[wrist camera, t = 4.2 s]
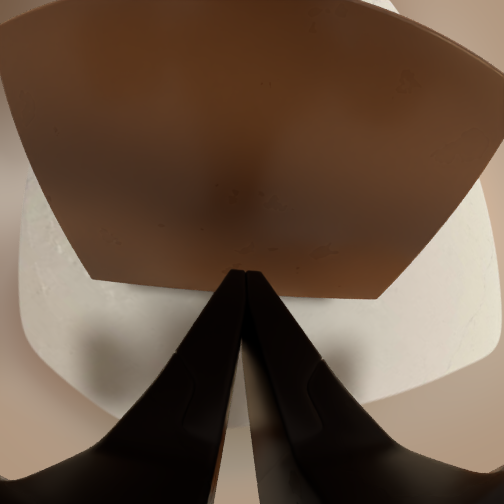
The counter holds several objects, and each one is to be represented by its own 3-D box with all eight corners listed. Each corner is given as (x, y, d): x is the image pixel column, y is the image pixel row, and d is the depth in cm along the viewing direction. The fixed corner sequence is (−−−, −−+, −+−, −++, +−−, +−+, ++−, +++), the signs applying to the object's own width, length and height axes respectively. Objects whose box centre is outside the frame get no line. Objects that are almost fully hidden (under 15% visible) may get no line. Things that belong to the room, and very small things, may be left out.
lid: (9, 19, 3) (-11, 28, 3) (513, 80, 4) (529, 94, 4) (95, 265, 13) (91, 280, 12) (374, 285, 14) (376, 300, 13)
